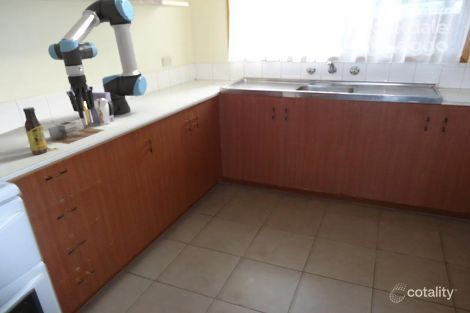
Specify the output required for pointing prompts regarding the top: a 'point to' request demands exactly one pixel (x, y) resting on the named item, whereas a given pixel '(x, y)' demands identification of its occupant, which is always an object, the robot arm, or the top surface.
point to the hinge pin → (86, 113)
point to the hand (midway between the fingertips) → (87, 123)
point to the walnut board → (77, 136)
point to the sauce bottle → (34, 132)
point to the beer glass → (102, 110)
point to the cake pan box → (111, 107)
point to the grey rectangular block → (59, 131)
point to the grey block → (69, 125)
